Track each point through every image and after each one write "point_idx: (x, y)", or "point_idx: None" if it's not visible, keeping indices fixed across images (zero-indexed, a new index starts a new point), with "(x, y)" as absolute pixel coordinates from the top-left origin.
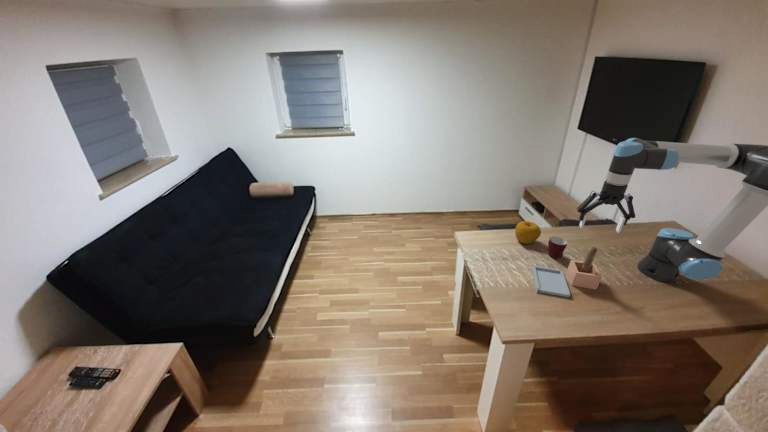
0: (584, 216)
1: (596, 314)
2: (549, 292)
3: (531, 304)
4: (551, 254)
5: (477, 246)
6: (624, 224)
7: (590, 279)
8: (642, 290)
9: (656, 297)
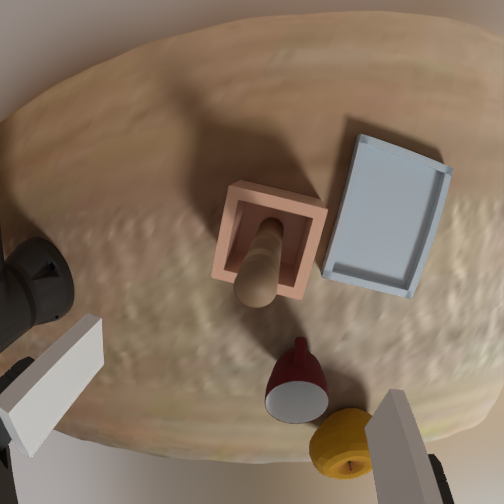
0: (436, 493)
1: (299, 68)
2: (421, 155)
3: (472, 121)
4: (315, 358)
5: (485, 378)
6: (28, 365)
7: (267, 191)
8: (99, 197)
9: (82, 170)
